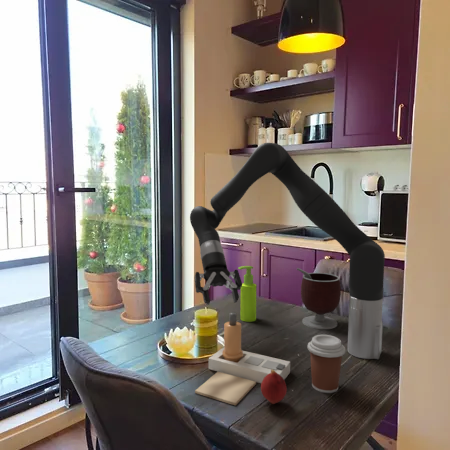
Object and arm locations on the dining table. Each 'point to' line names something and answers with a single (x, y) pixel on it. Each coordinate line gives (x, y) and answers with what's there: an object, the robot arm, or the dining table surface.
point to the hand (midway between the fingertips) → (222, 302)
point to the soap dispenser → (248, 296)
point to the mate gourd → (320, 298)
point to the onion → (273, 387)
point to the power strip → (249, 366)
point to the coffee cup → (325, 362)
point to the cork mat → (226, 388)
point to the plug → (232, 339)
